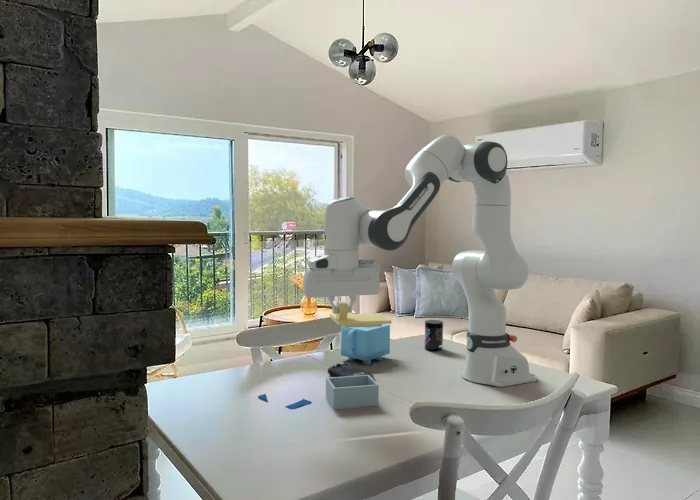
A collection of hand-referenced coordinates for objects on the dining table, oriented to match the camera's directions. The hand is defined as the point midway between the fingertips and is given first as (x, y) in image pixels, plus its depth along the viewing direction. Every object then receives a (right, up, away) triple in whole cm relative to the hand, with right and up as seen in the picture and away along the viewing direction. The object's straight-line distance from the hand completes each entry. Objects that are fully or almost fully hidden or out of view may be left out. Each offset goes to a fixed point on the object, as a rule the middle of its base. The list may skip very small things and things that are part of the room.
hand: (341, 313), depth 140 cm
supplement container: (+33, -21, +59) cm, 71 cm away
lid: (+5, -2, +1) cm, 5 cm away
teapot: (+8, -21, +46) cm, 52 cm away
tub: (+2, -24, +2) cm, 25 cm away
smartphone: (-16, -25, +4) cm, 29 cm away
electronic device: (+3, -23, +23) cm, 33 cm away
